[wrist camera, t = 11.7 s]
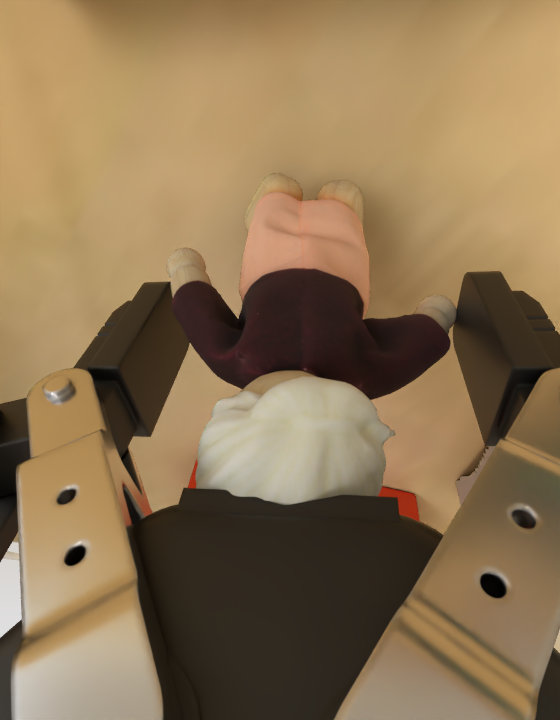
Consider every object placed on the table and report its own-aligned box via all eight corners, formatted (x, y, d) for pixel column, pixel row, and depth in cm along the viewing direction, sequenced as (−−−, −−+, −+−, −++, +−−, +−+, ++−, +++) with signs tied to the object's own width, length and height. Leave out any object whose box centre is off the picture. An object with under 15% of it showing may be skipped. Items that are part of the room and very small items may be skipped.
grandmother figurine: (228, 265, 17) (90, 587, 8) (210, 168, 15) (-19, 471, 6) (419, 262, 16) (519, 631, 7) (435, 156, 14) (624, 508, 4)
